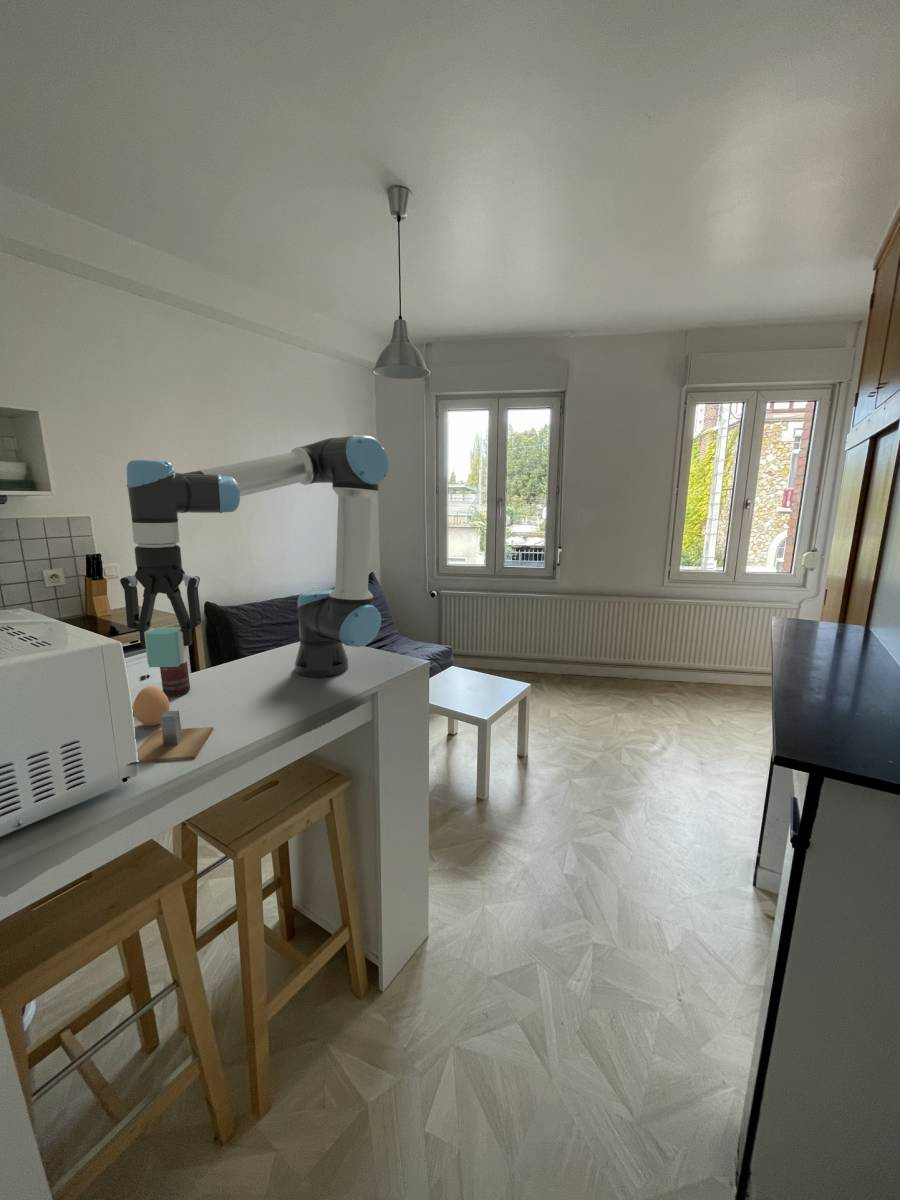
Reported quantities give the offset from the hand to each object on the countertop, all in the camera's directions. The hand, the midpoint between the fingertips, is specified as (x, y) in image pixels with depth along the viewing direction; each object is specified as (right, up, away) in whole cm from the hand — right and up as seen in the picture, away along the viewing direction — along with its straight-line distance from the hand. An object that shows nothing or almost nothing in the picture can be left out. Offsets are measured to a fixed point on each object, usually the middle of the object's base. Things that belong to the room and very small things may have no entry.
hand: (168, 661), depth 98 cm
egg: (-10, -16, +11) cm, 22 cm away
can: (-14, -12, +28) cm, 34 cm away
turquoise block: (0, 0, 0) cm, 0 cm away
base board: (-1, -18, +3) cm, 18 cm away
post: (-1, -18, +3) cm, 18 cm away
